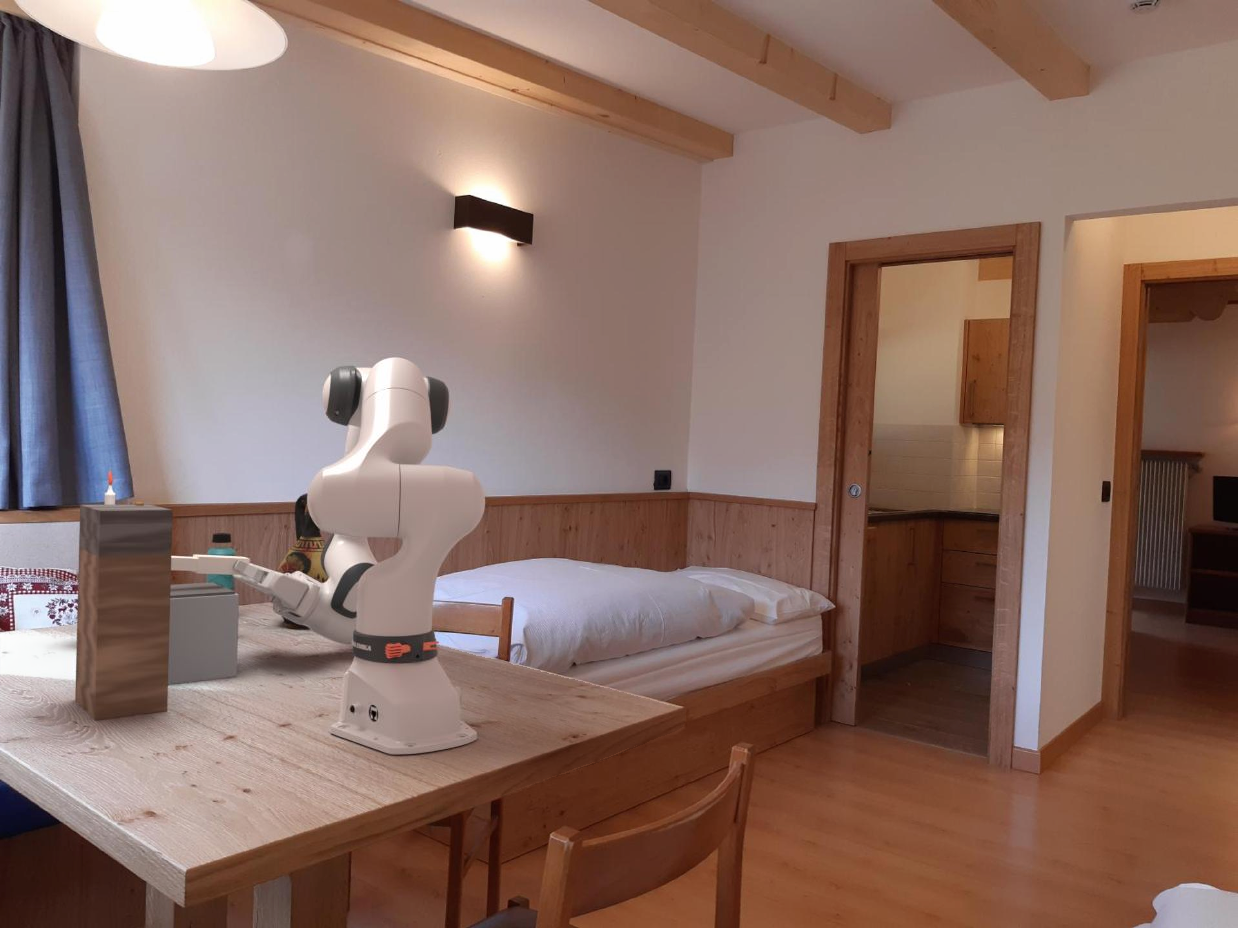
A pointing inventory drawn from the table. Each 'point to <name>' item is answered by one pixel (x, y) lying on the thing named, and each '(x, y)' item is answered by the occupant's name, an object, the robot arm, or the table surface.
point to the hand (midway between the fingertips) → (231, 562)
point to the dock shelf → (202, 632)
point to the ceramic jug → (304, 551)
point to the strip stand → (123, 609)
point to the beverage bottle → (221, 579)
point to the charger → (207, 564)
